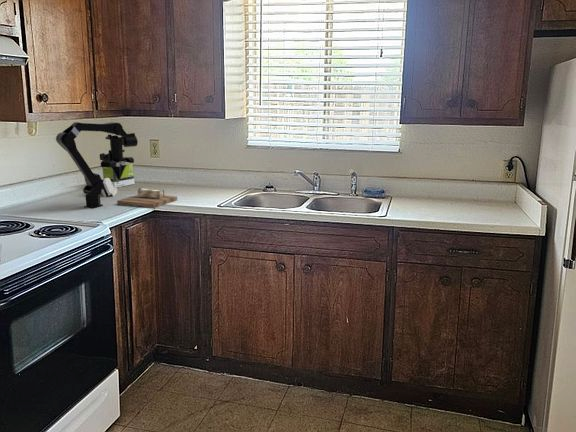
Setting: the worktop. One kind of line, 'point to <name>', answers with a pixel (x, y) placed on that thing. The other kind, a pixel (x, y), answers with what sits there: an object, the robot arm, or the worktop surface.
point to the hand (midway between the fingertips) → (119, 179)
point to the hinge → (108, 188)
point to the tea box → (125, 179)
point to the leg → (150, 193)
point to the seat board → (147, 201)
